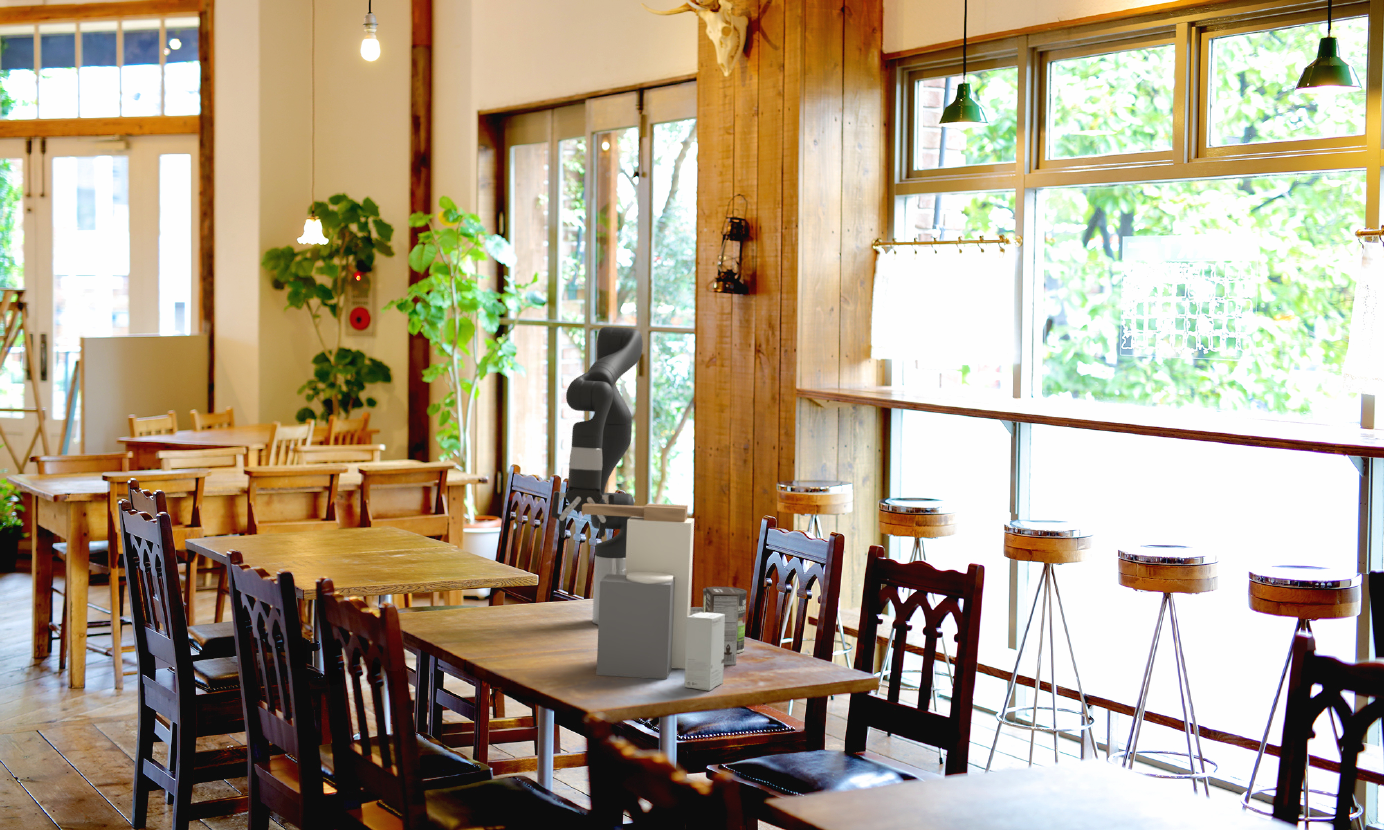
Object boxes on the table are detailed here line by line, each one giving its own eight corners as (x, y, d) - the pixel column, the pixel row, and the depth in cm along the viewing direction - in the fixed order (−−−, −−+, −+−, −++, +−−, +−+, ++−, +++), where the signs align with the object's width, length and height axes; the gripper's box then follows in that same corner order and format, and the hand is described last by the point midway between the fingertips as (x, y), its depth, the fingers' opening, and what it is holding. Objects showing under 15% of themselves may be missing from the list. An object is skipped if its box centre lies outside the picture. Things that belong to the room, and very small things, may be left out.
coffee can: (750, 647, 310) (752, 588, 310) (736, 656, 300) (738, 595, 300) (709, 642, 314) (711, 584, 313) (694, 651, 304) (696, 590, 303)
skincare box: (709, 691, 266) (712, 619, 266) (682, 687, 268) (685, 615, 268) (724, 682, 274) (727, 612, 274) (697, 679, 276) (700, 609, 276)
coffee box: (702, 655, 299) (705, 586, 298) (729, 656, 300) (732, 586, 300) (709, 665, 290) (712, 593, 289) (737, 665, 291) (740, 593, 290)
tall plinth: (626, 656, 296) (632, 515, 295) (688, 659, 295) (694, 518, 293) (621, 664, 287) (627, 519, 286) (685, 668, 286) (691, 523, 285)
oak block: (585, 513, 294) (586, 500, 294) (687, 518, 293) (687, 505, 292) (580, 517, 287) (581, 503, 287) (684, 522, 286) (685, 508, 286)
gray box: (603, 664, 286) (606, 569, 286) (671, 668, 285) (675, 572, 285) (596, 674, 277) (600, 576, 276) (666, 678, 275) (670, 580, 275)
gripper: (615, 468, 304) (611, 538, 304) (554, 465, 303) (549, 535, 302) (617, 469, 297) (613, 541, 297) (554, 466, 295) (550, 538, 295)
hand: (581, 537), depth 300 cm, fingers open, 8 cm apart
